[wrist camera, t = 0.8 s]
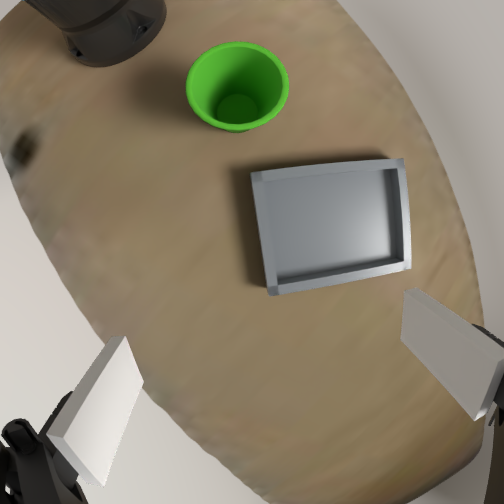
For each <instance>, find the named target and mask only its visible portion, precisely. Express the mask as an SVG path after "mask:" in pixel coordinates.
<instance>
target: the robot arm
mask: <svg viewBox="0 0 504 504" xmlns="http://www.w3.org/2000/svg"><path fill="white" fill-rule="evenodd" d="M23 1H25V2H27V3H28V4H29V5H31V6H32V7H33V8H35V9H36V10H37V11H38V12H40V13H41V14H42V15H44V16H45V17H46V18H47V19H49V20H50V21H51V22H52V23H54V24H55V25H56V26H58V27H59V28H60V29H61V30H62V33H63V35H64V38H65V41H66V43H67V46H68V49H69V51H70V52H71V54H72V55H73V56H74V57H75V58H76V59H78V60H79V61H80V62H82V63H83V64H85V65H87V66H91V67H106V66H111V65H114V64H117V63H120V62H122V61H125V60H127V59H129V58H130V57H132V56H134V55H135V54H137V53H138V52H140V51H141V50H142V49H144V48H145V47H146V46H147V45H148V44H149V43H150V42H151V41H152V40H153V39H154V38H155V37H156V36H157V34H158V33H159V31H160V30H161V28H162V26H163V24H164V21H165V18H166V5H165V2H164V0H23ZM401 341H402V342H403V343H404V344H405V345H406V346H407V347H408V348H409V349H410V350H411V351H412V352H413V354H414V355H415V356H416V357H417V358H418V359H419V360H420V361H421V362H422V363H423V364H424V365H425V366H426V367H427V368H428V370H429V371H430V372H431V373H432V374H433V375H434V376H435V377H436V378H437V379H438V380H439V382H440V383H441V384H442V385H443V386H444V387H445V388H446V389H447V390H448V392H449V393H450V394H451V395H452V396H453V397H454V398H455V399H456V401H457V402H458V403H459V404H460V405H461V406H462V407H463V409H464V410H465V411H466V412H467V413H468V414H469V415H470V417H471V418H472V419H473V420H474V421H475V420H477V419H478V418H480V417H482V416H483V415H485V414H486V413H488V411H489V409H490V407H491V404H492V402H493V401H494V402H495V403H496V404H497V407H496V409H495V411H494V414H493V416H492V418H491V420H490V422H489V426H491V424H492V422H493V420H494V419H495V423H494V440H493V451H492V460H491V467H490V474H489V480H488V485H487V491H486V495H485V500H484V504H504V342H503V341H501V340H500V339H497V337H496V336H494V335H493V334H490V332H489V331H487V330H486V329H484V328H483V327H481V326H478V325H475V324H470V323H468V322H467V321H466V320H464V319H463V318H461V317H460V316H458V315H457V314H456V313H454V312H453V311H451V310H450V309H448V308H447V307H445V306H444V305H442V304H441V303H439V302H438V301H436V300H435V299H433V298H432V297H430V296H429V295H427V294H426V293H424V292H423V291H421V290H420V289H418V288H413V289H409V290H405V291H404V303H403V318H402V330H401ZM142 385H143V379H142V377H141V375H140V372H139V370H138V367H137V365H136V362H135V360H134V357H133V355H132V352H131V349H130V347H129V344H128V341H127V338H126V336H113V337H111V338H110V340H109V341H108V342H107V344H106V345H105V347H104V348H103V350H102V351H101V352H100V354H99V355H98V357H97V358H96V359H95V361H94V362H93V364H92V365H91V366H90V368H89V369H88V371H87V372H86V374H85V375H84V377H83V378H82V379H81V381H80V383H79V384H78V385H77V387H76V388H75V390H74V391H70V392H69V393H68V394H67V395H66V396H64V397H63V398H62V399H61V401H60V402H59V403H58V405H57V408H55V410H54V411H53V412H52V415H50V417H49V418H48V420H47V422H46V423H45V425H44V426H43V428H42V429H41V431H40V432H39V434H37V433H36V432H35V430H34V429H33V428H32V426H31V425H30V423H29V422H28V421H27V420H25V419H21V418H20V419H14V420H12V421H11V422H9V423H8V424H7V425H6V426H5V427H4V428H3V430H2V434H1V436H2V437H3V438H4V440H5V441H6V442H7V444H8V445H9V446H10V447H5V446H4V445H3V443H2V442H1V441H0V504H88V502H87V500H86V497H85V495H84V493H83V491H82V489H81V486H80V485H79V484H78V482H77V481H76V479H77V477H78V475H80V476H81V477H82V478H83V480H84V481H85V482H86V483H88V484H93V485H97V486H102V487H104V485H105V482H106V479H107V476H108V473H109V471H110V468H111V465H112V462H113V460H114V457H115V454H116V451H117V449H118V446H119V443H120V441H121V438H122V435H123V433H124V430H125V427H126V424H127V422H128V420H129V417H130V414H131V412H132V410H133V407H134V405H135V402H136V400H137V397H138V395H139V392H140V390H141V387H142ZM6 485H7V486H8V487H9V488H10V494H8V493H7V492H6V491H5V486H6Z"/></svg>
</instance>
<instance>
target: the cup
mask: <svg viewBox="0 0 504 504" xmlns="http://www.w3.org/2000/svg"><path fill="white" fill-rule="evenodd" d="M288 91H289V80H288V75H287V72H286V70H285V67H284V66H283V64H282V63H281V62H280V60H279V59H278V58H277V57H276V56H275V55H274V54H273V53H271V52H270V51H269V50H267V49H265V48H263V47H261V46H259V45H256V44H252V43H249V42H228V43H223V44H220V45H217V46H215V47H212V48H211V49H209V50H207V51H206V52H204V53H203V54H202V55H201V56H200V57H199V58H198V59H197V60H196V61H195V62H194V63H193V65H192V67H191V68H190V70H189V72H188V75H187V79H186V96H187V99H188V102H189V105H190V106H191V108H192V109H193V111H194V112H195V114H197V115H198V116H199V117H200V118H201V119H202V120H203V121H205V122H207V123H208V124H210V125H212V126H214V127H217V128H221V129H225V130H226V131H228V132H232V133H242V132H245V131H248V130H250V129H253V128H256V127H258V126H261V125H263V124H265V123H267V122H268V121H269V120H271V119H272V118H274V117H275V116H276V115H277V114H278V112H279V111H280V110H281V109H282V108H283V106H284V104H285V102H286V100H287V97H288Z"/></svg>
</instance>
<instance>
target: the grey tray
mask: <svg viewBox="0 0 504 504" xmlns="http://www.w3.org/2000/svg"><path fill="white" fill-rule="evenodd" d="M249 175H250V181H251V187H252V194H253V200H254V207H255V214H256V220H257V227H258V233H259V240H260V247H261V253H262V260H263V267H264V274H265V281H266V287H267V291H268V295H269V296H275V295H281V294H287V293H292V292H298V291H304V290H309V289H315V288H320V287H325V286H330V285H336V284H341V283H346V282H351V281H356V280H361V279H366V278H370V277H375V276H380V275H384V274H389V273H393V272H398V271H402V270H407V269H411V233H410V215H409V202H408V191H407V181H406V173H405V165H404V159H381V160H364V161H350V162H338V163H327V164H317V165H307V166H298V167H290V168H282V169H274V170H266V171H259V172H252V173H250V174H249Z"/></svg>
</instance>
